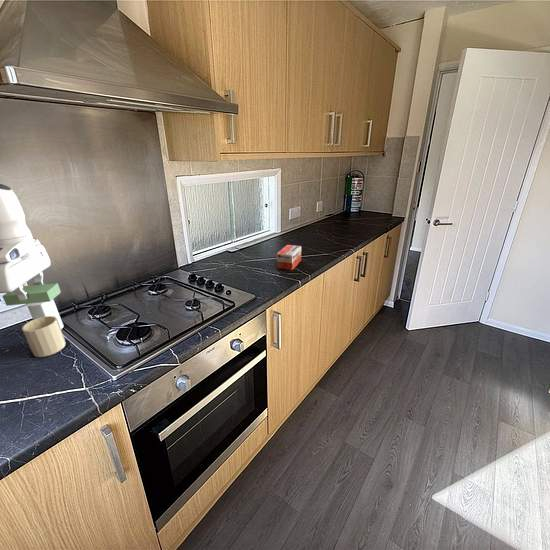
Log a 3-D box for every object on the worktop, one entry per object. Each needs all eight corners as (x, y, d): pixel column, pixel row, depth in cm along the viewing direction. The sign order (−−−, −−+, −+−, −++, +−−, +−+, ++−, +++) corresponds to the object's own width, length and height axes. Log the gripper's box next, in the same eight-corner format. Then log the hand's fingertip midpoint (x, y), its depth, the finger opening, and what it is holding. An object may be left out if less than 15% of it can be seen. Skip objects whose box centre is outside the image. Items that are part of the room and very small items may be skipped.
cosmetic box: (51, 328, 100) (39, 296, 95) (64, 327, 100) (52, 295, 96) (40, 338, 94) (26, 305, 90) (54, 337, 95) (41, 304, 90)
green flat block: (6, 305, 80) (2, 296, 79) (19, 295, 85) (16, 286, 84) (50, 301, 82) (46, 292, 80) (61, 292, 87) (57, 283, 86)
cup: (27, 358, 85) (15, 332, 82) (42, 342, 92) (32, 317, 89) (57, 355, 86) (47, 329, 83) (70, 338, 94) (61, 314, 90)
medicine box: (292, 270, 141) (292, 255, 138) (276, 268, 144) (276, 253, 140) (301, 260, 154) (301, 245, 150) (287, 258, 156) (286, 244, 153)
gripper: (24, 237, 86) (40, 279, 92) (-29, 260, 68) (-5, 312, 73) (48, 235, 87) (62, 277, 93) (1, 258, 69) (23, 309, 74)
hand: (32, 293), depth 83 cm, fingers closed on green flat block, 6 cm apart
